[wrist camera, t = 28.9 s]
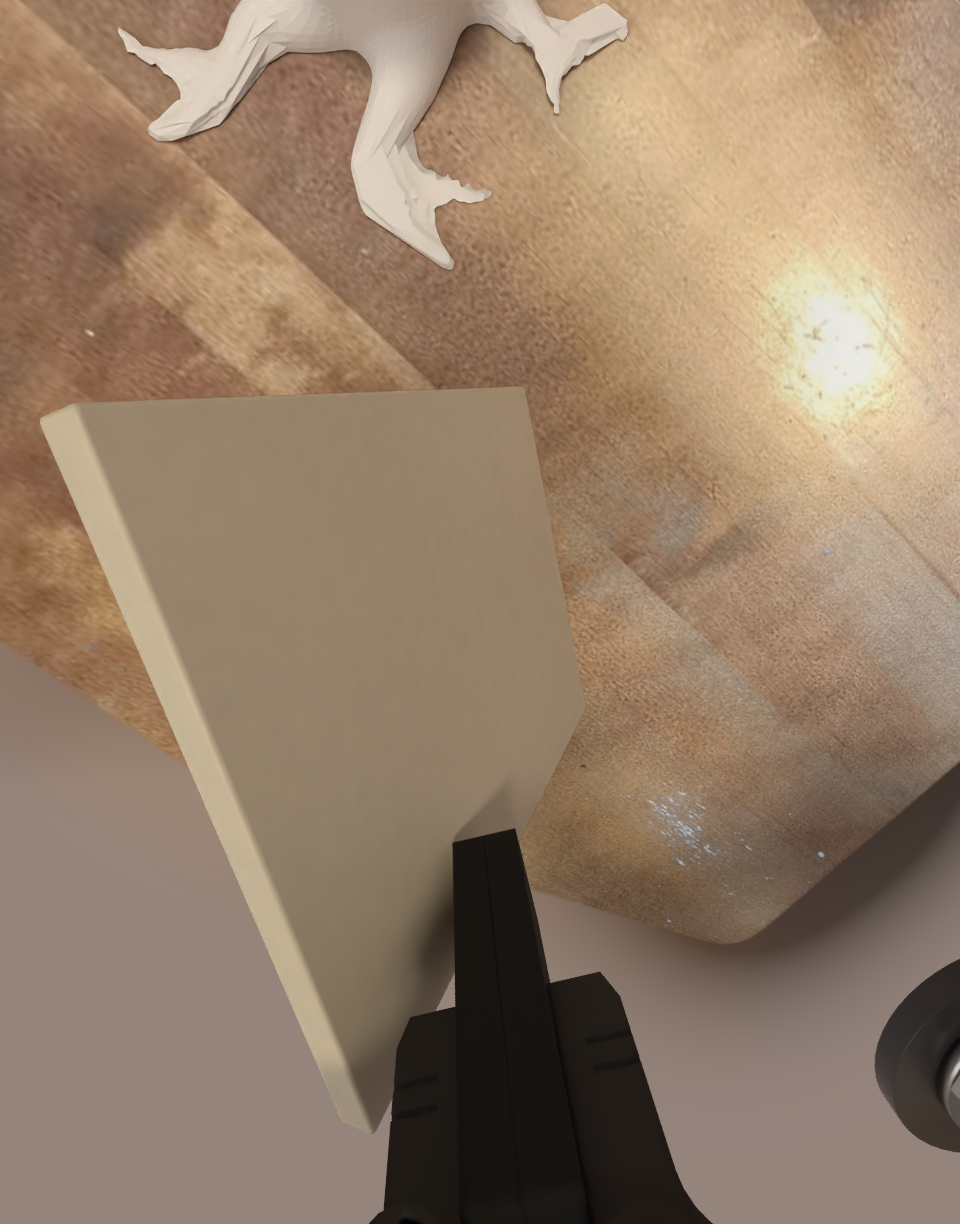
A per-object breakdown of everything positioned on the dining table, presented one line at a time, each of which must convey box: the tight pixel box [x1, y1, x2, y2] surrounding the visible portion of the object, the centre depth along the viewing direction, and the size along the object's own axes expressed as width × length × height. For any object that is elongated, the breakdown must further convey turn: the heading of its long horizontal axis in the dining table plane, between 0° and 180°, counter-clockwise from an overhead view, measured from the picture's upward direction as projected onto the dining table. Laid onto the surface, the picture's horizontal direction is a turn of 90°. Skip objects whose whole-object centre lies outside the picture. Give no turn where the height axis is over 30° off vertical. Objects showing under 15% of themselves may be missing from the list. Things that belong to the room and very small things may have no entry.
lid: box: [40, 386, 586, 1134], centre depth 15 cm, size 15×13×1 cm
